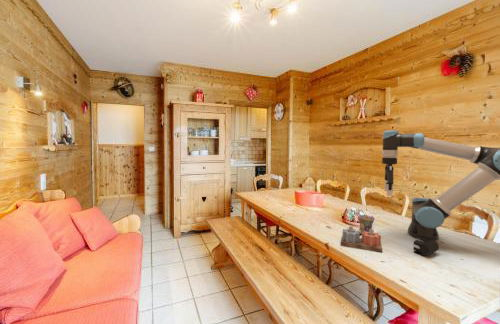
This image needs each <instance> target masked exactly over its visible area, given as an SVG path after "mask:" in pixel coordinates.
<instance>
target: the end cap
mask: <svg viewBox="0 0 500 324" xmlns="http://www.w3.org/2000/svg"><path fill="white" fill-rule="evenodd" d="M413 245H414V246H412V247H413V253H414V254H416V255H418V256H421V257H425V256H428V255H430V254H432V253H434V252H437V251H438V250H439V249H440V245H439V243H438V241H437V240H433V239H432V240H428V239H424V238H421V239H420V240H419V239H416V240H414V241H413ZM416 246H417V247H416ZM418 247H419V248H418Z"/></svg>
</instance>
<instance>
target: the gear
mask: <svg viewBox="0 0 500 324" xmlns="http://www.w3.org/2000/svg"><path fill="white" fill-rule="evenodd" d="M360 235H361V234H360V232H359V230H356V229H355V228H353V233H351V232H349V227H348V228H347V227H346V228H343V229H342V235H341V238H342V240H345V241H346V242H352V243H355V242H358V243H359V242H360V238H361V236H360Z"/></svg>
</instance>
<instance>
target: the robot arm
mask: <svg viewBox="0 0 500 324" xmlns="http://www.w3.org/2000/svg"><path fill="white" fill-rule="evenodd" d="M398 148H412V149H417V150H421V151H425V152H430V153H435V154H439V155H443V156H448V157H453V158H456V159H462V160H467V161H469V162H470V163H471V164H475V165H478V167H477V168H475V169H474V170H473V171H471V172H470V173H468V174H467V175H466V176H464V177H463V178H461V179H460V180H459V181H458V182H455V184H453V185H452V186H450V187H449V188H448V189H447V190H445V191H444V192H442V193H441V194H440V195H438V196H437V197H434V198H433V197H432V198H431V197H430V198H428V197H413V198H412V201H411V203H412V205H411V206H412V208H411V222H410V223H409V226H408V228H407V235H409V236H410V237H413V238H416V239H417V240H419V239H421V238H424V239H428V240H432V239H433V240H435V241H437V240H439V232H438V229H437V228H439V227H441V226H443V224H444V222H445V220H446V219H448V217H450V216H451V215H452V212H451V211H453V210H454V209H456V208H457V207H458V206H460V205H461V204H463V203H464V202H466V201H467V200H469V199H470V198H471V197H473V196H475V195H476V194H478V193H479V192H481V191H482V190H484V188H486V187H488V186H489V185H491V184H492V183H493V182H495V181H499V180H500V147H489V146H488V147H487V146H482V145H478V146H471V145H467V144H461V143H456V142H452V141H451V142H450V141H448V140H447V141H446V140H440V139H435V138H431V137H426V136H425V134H424V133H418V132H416V133H414V132H413V133H399V130H396V129H395V130H394V129H393V130H385V131H383V135H382V151H380V152H381V154H382V159H381V164H383V165H385V167H384V190H383V191H384V192H386V196H387V197H389V196H390V197H392V196H394V195H393V191H394V169H395V167H394V166H393V165H397V164H398V158H397V157H398V154H399V153H398Z"/></svg>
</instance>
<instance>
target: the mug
mask: <svg viewBox="0 0 500 324" xmlns="http://www.w3.org/2000/svg"><path fill="white" fill-rule="evenodd" d="M375 219H376V218H375V217H374V216H371V215H366V214H359V215H358V216H357V221H358V223H359V229H358V231H359V232H360V235H362V233H364V231H366V232H369V229H373V224H374V221H375Z"/></svg>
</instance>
